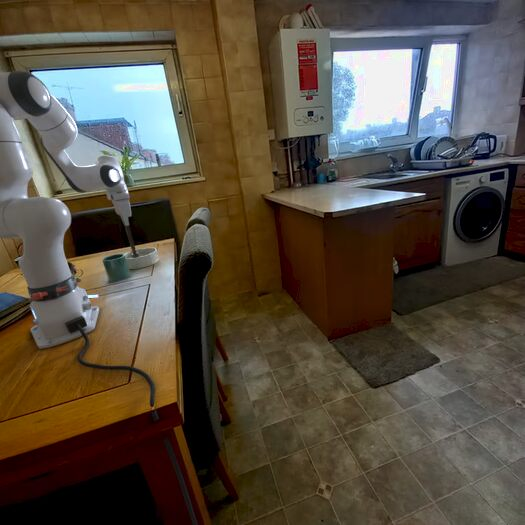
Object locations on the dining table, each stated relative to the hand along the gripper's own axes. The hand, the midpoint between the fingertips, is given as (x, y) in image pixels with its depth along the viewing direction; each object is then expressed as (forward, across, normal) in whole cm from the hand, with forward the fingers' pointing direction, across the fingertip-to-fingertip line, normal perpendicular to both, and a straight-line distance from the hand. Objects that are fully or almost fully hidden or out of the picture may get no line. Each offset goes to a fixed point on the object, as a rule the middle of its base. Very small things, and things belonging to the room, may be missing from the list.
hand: (126, 224), depth 129 cm
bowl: (+20, +1, +2) cm, 20 cm away
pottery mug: (+20, -13, -30) cm, 38 cm away
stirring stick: (+18, 0, 0) cm, 18 cm away
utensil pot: (+20, +13, -10) cm, 26 cm away
